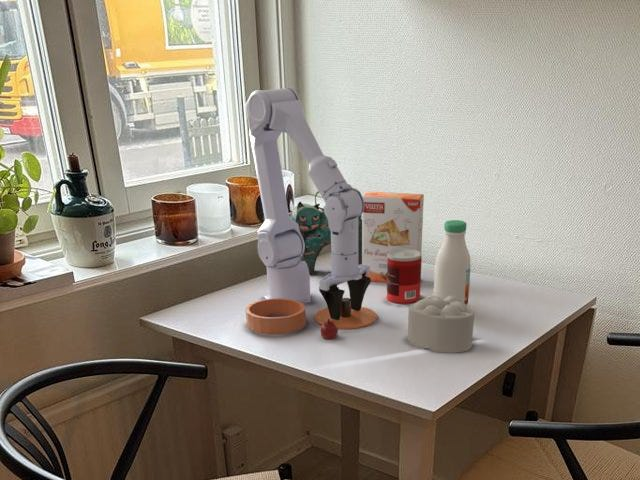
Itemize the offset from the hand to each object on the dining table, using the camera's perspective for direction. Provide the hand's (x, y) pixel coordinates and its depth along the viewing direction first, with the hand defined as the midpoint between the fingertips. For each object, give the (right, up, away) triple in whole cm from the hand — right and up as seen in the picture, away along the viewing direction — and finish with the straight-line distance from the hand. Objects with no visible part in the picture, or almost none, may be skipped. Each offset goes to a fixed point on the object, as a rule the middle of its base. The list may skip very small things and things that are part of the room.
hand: (345, 314), depth 160 cm
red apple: (-3, -7, -8) cm, 11 cm away
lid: (0, -1, 0) cm, 1 cm away
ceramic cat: (-5, +19, +33) cm, 38 cm away
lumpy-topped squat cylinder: (+20, -8, -10) cm, 24 cm away
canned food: (+13, +6, +12) cm, 18 cm away
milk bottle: (+23, +1, +4) cm, 24 cm away
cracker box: (+11, +13, +23) cm, 29 cm away
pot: (-15, -3, -2) cm, 15 cm away
